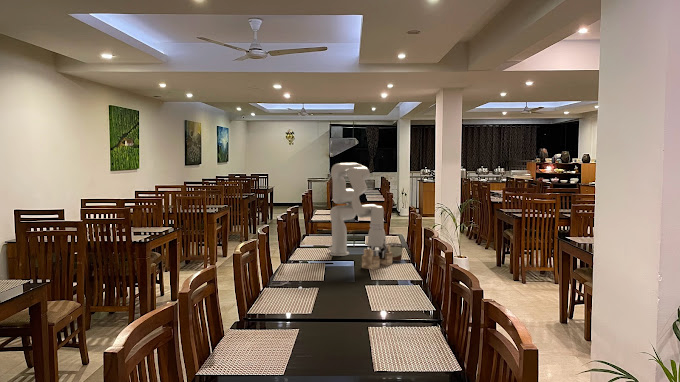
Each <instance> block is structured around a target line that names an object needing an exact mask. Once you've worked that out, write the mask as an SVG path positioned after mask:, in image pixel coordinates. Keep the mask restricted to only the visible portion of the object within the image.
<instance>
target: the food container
mask: <svg viewBox="0 0 680 382" xmlns="http://www.w3.org/2000/svg"><path fill="white" fill-rule="evenodd" d="M386 244H387V245H390V252H392V262H402V259H403V257H402V256H403V249H404V245H403V244H402V243H399V242H388V243H387V242H386Z"/></svg>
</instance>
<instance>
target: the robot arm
mask: <svg viewBox="0 0 680 382" xmlns="http://www.w3.org/2000/svg"><path fill="white" fill-rule="evenodd" d="M330 170H331V171H330V175H331V179H332V180H331V181H332V201H333V203H334V204H336V205H335V206H332V207H331V209H330V211H329V215H330V221H331V246H328V251H330V252H329V255H330V256H334V257H340V256H341V257H344V256H345V257H346V256H349V255H350V251H348V250H347V249H348V246H347V244H348V240H347V239H348V235H347V232H348V231H347V225H346V224H345V221H348V220H349V221H350V220H354V219H355V218H356V216H357V217H358V218H360V219H361V218H362V219H363V218H370V223H369V225H368V226H369V227H370V228H369V231H368V234H367V243H366V246H367V247H369V248H368V249H371V250H374V249H376V248H379V259H381V258H382V257H383V251H384V250H385V249H386V248H388V246H387V239H386V237H387V236H386V231H385V229H384V228H385V224H384V219H385V218H384V217H385V215H384V213H385V211H384V209H385V208H384V207H383V206H382V205H378V204H375V203H369V204H368V203H367V204H362V203H361V200H360V196H361V195H363V194H364V193H366V192H367V191H368V185H367V183H366V181H367V180H369V179H370V177H371V172H370V170H369V169H368V167H367V166H365V165H362V164H361V163H357V162H340V163H339V162H338V163H335V164H333V165H332V167H331V169H330ZM345 177H347V178H348V181H349V182H350V185H351V188H347V182H346V180H345ZM338 204H340V205H338ZM342 204H345V205H342ZM383 246H384V247H383Z"/></svg>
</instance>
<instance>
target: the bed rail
mask: <svg viewBox="0 0 680 382" xmlns="http://www.w3.org/2000/svg"><path fill="white" fill-rule="evenodd" d="M385 253H387V248H386V249H385V250H384V251H383V257H382V258H384V257H385ZM374 256H379V247H376V248H375V249H374V250H373V257H374Z"/></svg>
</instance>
